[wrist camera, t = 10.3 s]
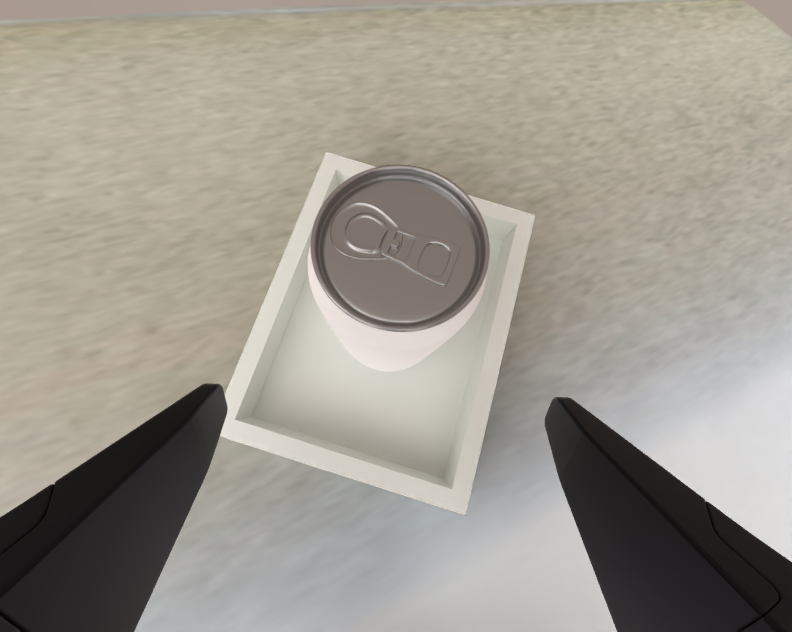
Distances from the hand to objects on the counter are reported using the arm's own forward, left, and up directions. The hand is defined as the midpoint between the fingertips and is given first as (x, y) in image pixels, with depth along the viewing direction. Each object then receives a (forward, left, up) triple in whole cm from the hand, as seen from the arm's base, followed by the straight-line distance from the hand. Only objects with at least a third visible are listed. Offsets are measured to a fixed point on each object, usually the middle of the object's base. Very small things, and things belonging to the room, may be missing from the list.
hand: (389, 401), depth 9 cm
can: (+5, +1, -12) cm, 13 cm away
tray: (+5, +1, -13) cm, 14 cm away
